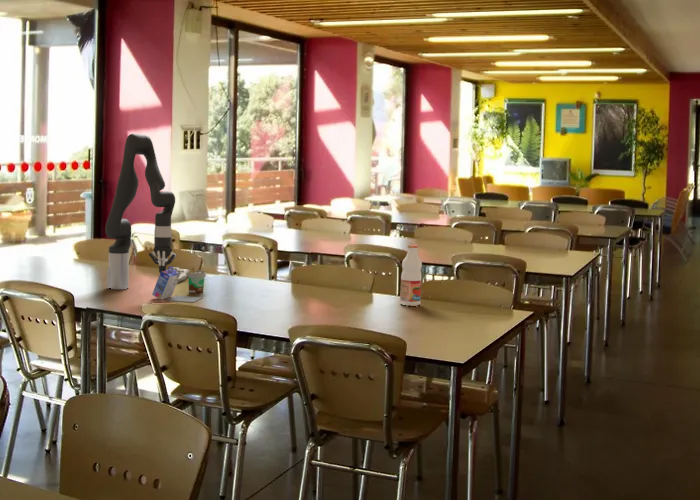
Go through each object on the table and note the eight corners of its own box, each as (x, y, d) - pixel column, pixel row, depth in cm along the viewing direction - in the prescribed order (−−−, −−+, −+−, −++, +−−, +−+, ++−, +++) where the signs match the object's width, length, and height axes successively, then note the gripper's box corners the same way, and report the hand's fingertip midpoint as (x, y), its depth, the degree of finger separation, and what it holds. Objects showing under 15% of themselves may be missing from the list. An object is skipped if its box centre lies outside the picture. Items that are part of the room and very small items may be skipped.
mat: (165, 300, 404) (165, 300, 404) (176, 296, 417) (176, 295, 417) (193, 302, 402) (193, 301, 402) (203, 297, 414) (203, 297, 414)
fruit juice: (402, 302, 423) (405, 243, 420) (422, 304, 420) (425, 244, 417) (397, 305, 414) (400, 245, 411) (417, 307, 411) (420, 246, 408)
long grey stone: (161, 286, 451) (181, 288, 451) (162, 276, 450) (182, 278, 450) (173, 272, 485) (192, 274, 486) (174, 263, 485) (193, 264, 485)
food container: (200, 295, 421) (200, 274, 420) (187, 294, 422) (188, 273, 421) (209, 291, 433) (209, 270, 432) (197, 290, 434) (197, 269, 433)
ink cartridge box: (162, 291, 415) (174, 263, 412) (171, 297, 414) (183, 269, 410) (150, 294, 406) (162, 266, 402) (160, 300, 404) (172, 272, 401)
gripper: (145, 235, 404) (145, 274, 406) (173, 237, 402) (173, 275, 404) (152, 234, 411) (151, 271, 413) (179, 235, 409) (179, 273, 411)
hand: (162, 273), depth 408 cm, fingers closed
